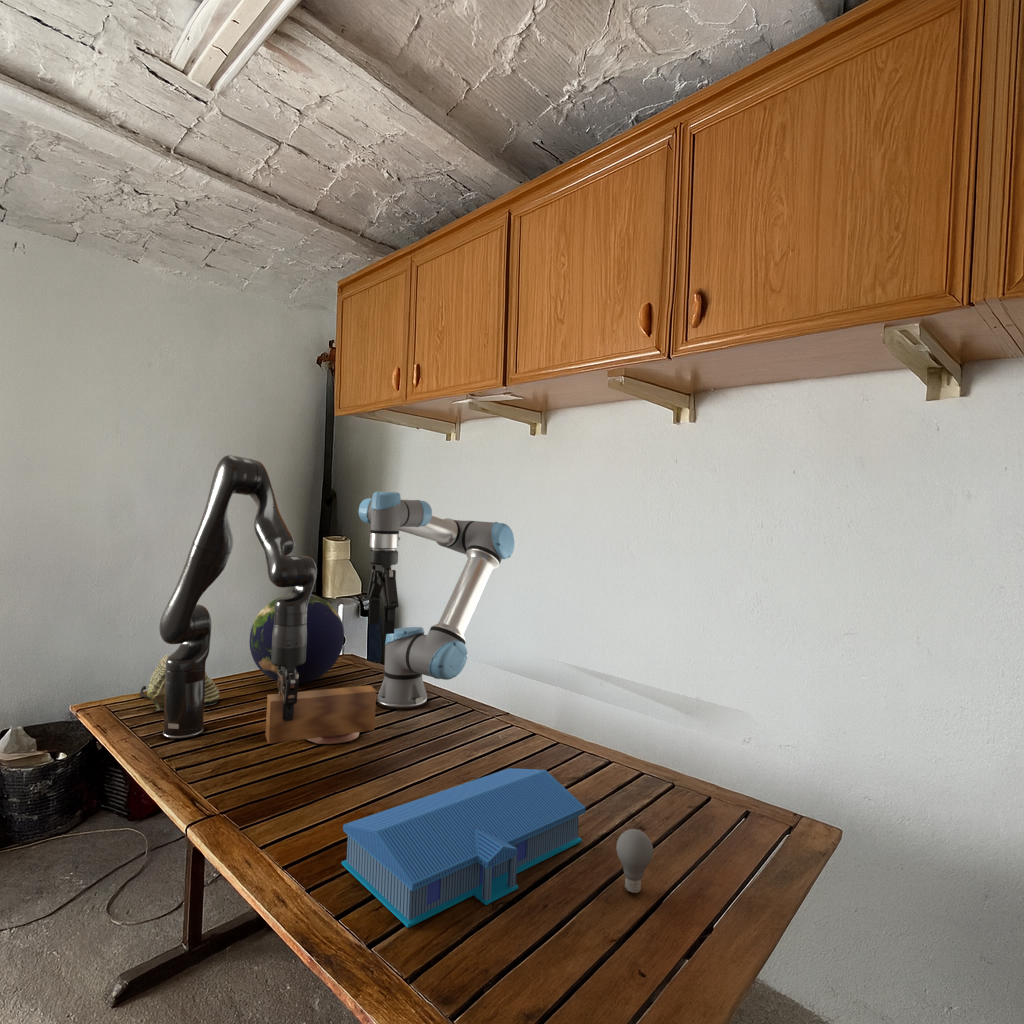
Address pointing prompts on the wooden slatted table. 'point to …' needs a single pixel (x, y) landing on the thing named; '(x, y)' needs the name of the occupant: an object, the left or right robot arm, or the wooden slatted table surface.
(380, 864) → the model building
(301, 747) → the wooden slatted table surface
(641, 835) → the light bulb
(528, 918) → the wooden slatted table surface
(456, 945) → the wooden slatted table surface
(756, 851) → the wooden slatted table surface
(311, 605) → the globe
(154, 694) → the fossil
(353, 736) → the anatomical model
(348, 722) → the bar
